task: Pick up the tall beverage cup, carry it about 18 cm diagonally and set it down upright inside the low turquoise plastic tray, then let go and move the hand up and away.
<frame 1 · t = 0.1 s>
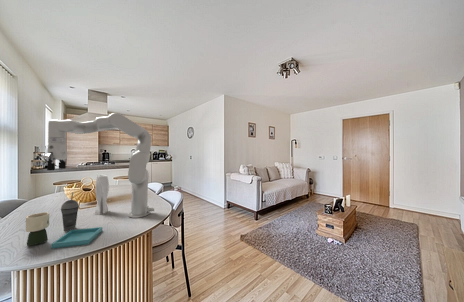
hand: (56, 169, 102), 31 cm above the table, tool pointing down, fingers open, 9 cm apart
character mug: (37, 243, 78), on the table
beverage cup: (69, 229, 92), on the table
tray: (79, 238, 82), on the table
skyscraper: (101, 213, 118), on the table
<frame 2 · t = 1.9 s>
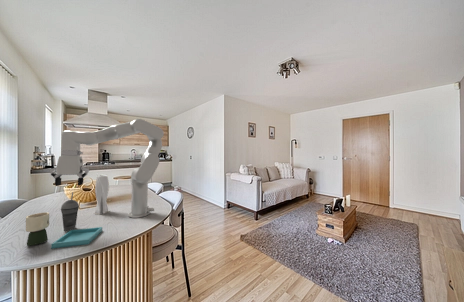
hand: (69, 185, 92), 24 cm above the table, tool pointing down, fingers open, 9 cm apart
nothing on the table moved.
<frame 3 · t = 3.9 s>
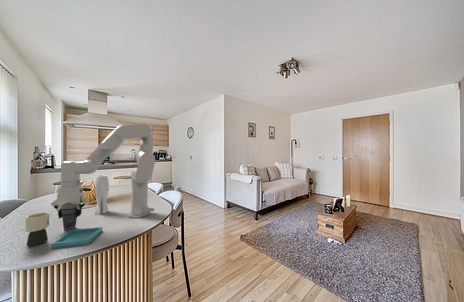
hand: (70, 216, 93), 7 cm above the table, tool pointing down, fingers closed on beverage cup, 6 cm apart
beverage cup: (69, 229, 92), on the table, touching gripper
everything else where it was.
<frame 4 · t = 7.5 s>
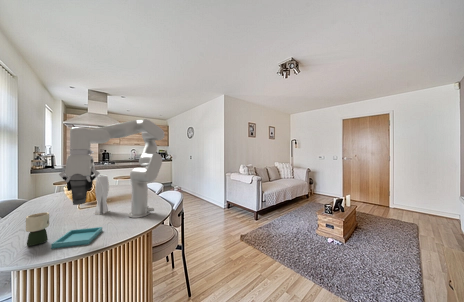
hand: (79, 189, 83), 24 cm above the table, tool pointing down, fingers closed on beverage cup, 6 cm apart
beverage cup: (79, 203, 83), point 17 cm above the table, touching gripper
everything else where it was.
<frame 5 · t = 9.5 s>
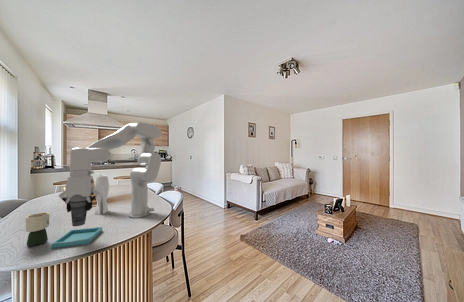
hand: (79, 210, 82), 14 cm above the table, tool pointing down, fingers closed on beverage cup, 6 cm apart
beverage cup: (78, 224, 82), point 7 cm above the table, touching gripper
everything else where it was.
when the fingers open (8 cm above the table, at t = 11.2 s): beverage cup moves 1 cm, resting on tray.
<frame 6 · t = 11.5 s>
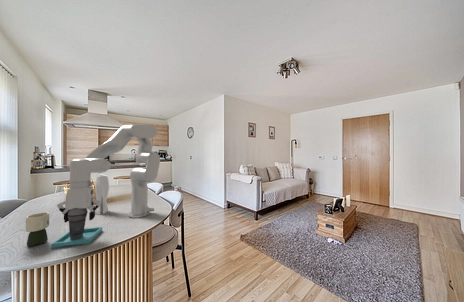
hand: (79, 220, 82), 9 cm above the table, tool pointing down, fingers open, 9 cm apart
beverage cup: (76, 238, 82), resting on tray, touching gripper
everything else where it was.
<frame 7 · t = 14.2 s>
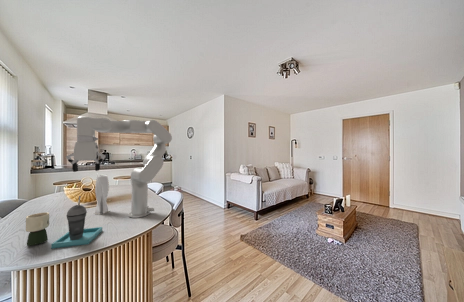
hand: (86, 171, 93), 31 cm above the table, tool pointing down, fingers open, 9 cm apart
beverage cup: (76, 238, 82), resting on tray
everything else where it was.
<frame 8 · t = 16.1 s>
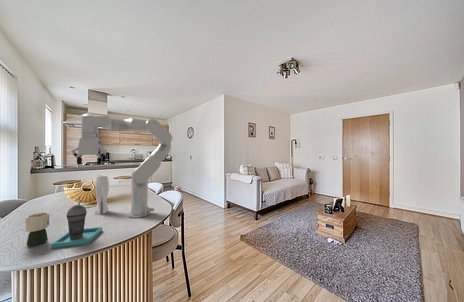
hand: (89, 164, 102), 34 cm above the table, tool pointing down, fingers open, 9 cm apart
nothing on the table moved.
at the end: beverage cup inside the target area on the tray (1.2 cm from its centre), point 0.4 cm above the tray's base; beverage cup tilted 0°; the gripper is holding nothing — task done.
